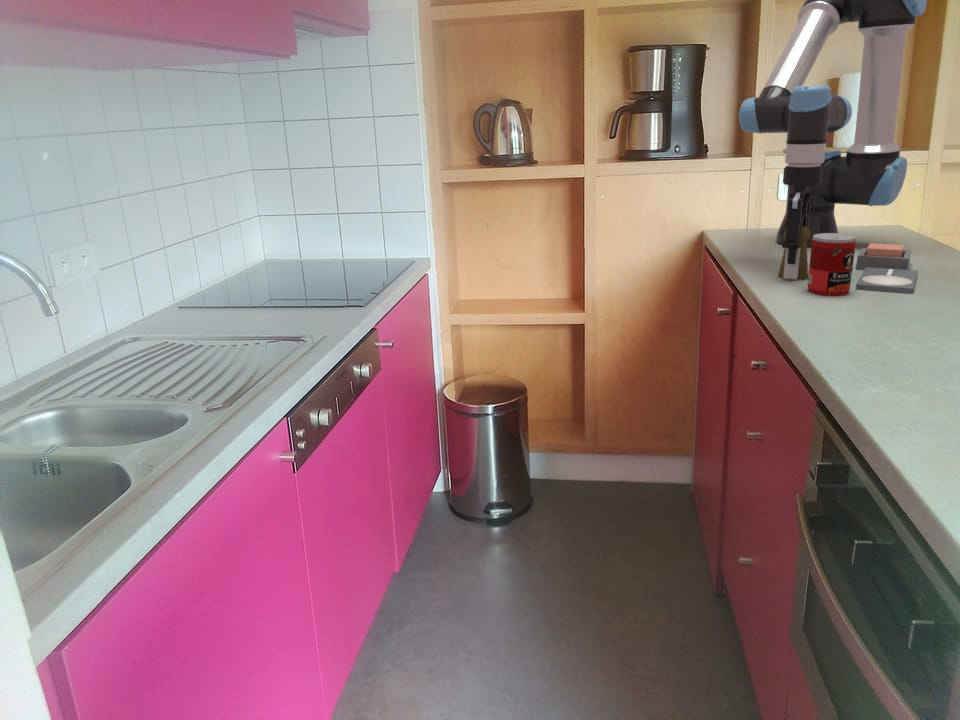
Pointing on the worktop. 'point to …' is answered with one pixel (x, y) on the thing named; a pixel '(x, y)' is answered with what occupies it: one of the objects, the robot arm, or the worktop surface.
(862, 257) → the button housing
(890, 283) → the slate board
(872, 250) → the button
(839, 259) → the canned food
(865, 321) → the worktop surface
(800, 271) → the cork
